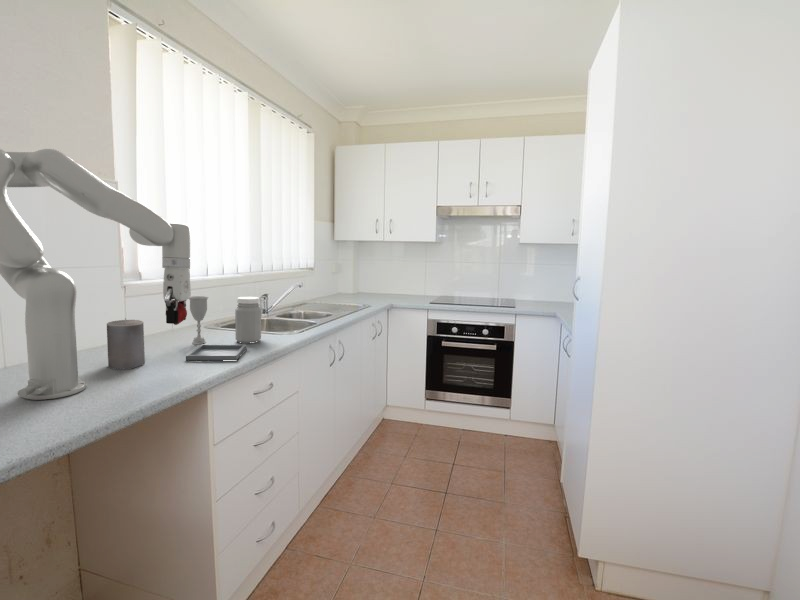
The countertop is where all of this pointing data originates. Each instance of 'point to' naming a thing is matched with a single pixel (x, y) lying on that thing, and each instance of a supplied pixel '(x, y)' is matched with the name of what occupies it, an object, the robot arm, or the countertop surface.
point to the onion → (181, 313)
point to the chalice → (198, 314)
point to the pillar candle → (125, 344)
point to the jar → (248, 320)
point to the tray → (216, 352)
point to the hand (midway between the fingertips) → (176, 321)
